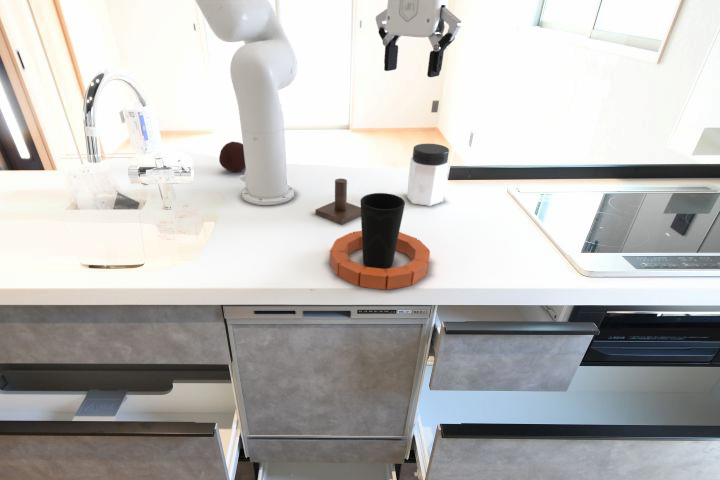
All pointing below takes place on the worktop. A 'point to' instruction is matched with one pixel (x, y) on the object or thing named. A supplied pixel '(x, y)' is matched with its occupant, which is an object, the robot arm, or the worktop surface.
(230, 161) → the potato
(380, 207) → the cup
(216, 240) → the worktop surface
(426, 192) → the jar
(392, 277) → the ring
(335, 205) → the stand
